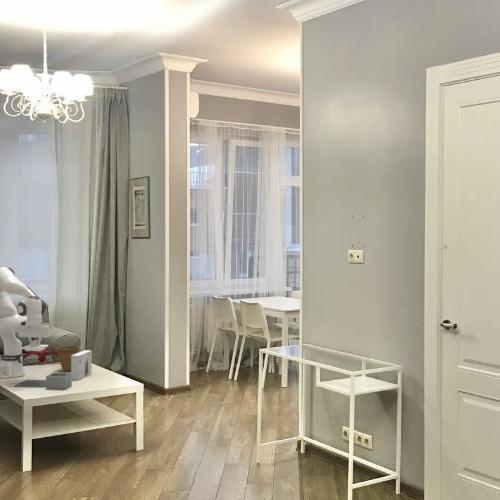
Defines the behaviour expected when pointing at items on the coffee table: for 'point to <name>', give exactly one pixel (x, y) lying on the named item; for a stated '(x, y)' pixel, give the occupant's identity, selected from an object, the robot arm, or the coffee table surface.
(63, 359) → the plant pot
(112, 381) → the coffee table surface
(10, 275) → the robot arm
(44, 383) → the black rubber mat
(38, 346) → the cream lid
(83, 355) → the skincare box
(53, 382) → the grey storage box
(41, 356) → the decorative bird sculpture
